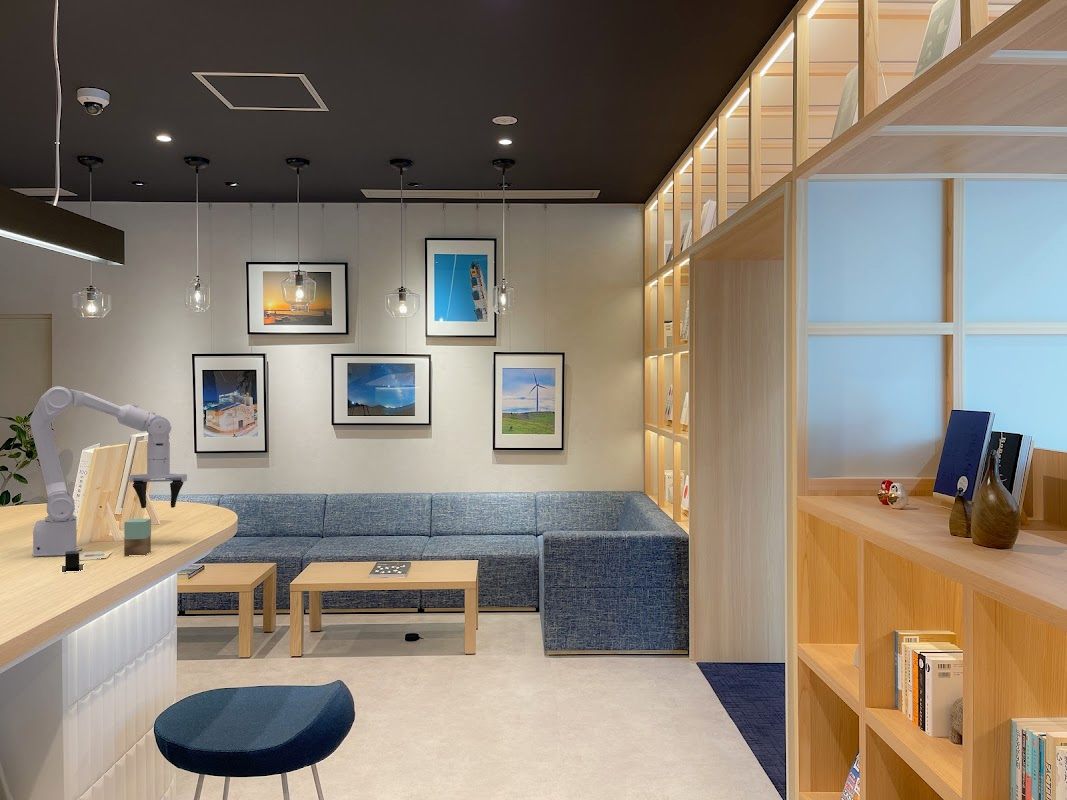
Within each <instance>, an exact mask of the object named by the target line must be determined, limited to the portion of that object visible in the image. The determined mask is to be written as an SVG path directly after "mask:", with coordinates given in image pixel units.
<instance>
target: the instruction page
mask: <svg viewBox="0 0 1067 800" xmlns="http://www.w3.org/2000/svg"><path fill="white" fill-rule="evenodd" d="M104 551H105V552H102V551H101V550H100V551H84V552H83V553H82V554H80V555H79V560H81V561H93V560H92V559H97V558H100V559H99V560H102V559H101V558H102V557H105V556H107V555H105V554H104V553H109V552H106V551H107V550H104ZM104 555H105V556H104Z"/></svg>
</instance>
